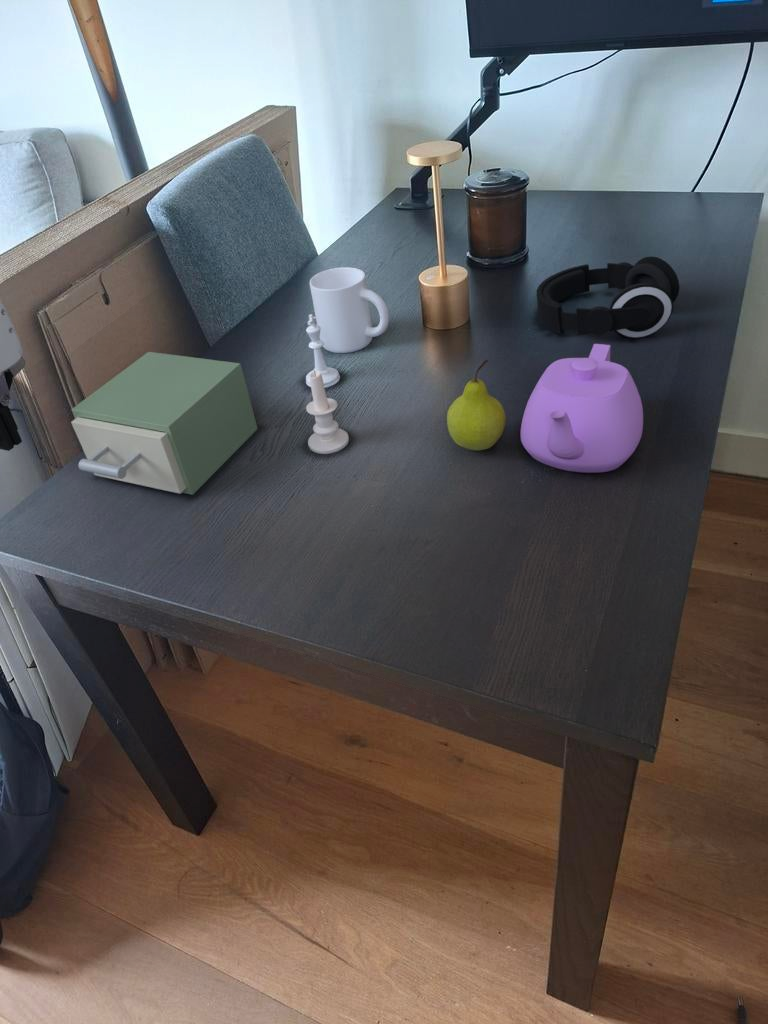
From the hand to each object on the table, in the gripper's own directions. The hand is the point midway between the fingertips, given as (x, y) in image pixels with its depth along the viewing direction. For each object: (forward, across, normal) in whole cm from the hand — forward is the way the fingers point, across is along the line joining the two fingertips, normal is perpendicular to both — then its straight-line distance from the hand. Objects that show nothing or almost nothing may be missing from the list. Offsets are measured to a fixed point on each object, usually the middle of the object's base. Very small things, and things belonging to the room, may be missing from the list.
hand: (5, 444), depth 75 cm
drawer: (+14, -18, 0) cm, 23 cm away
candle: (+14, -29, +19) cm, 37 cm away
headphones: (+13, -70, +44) cm, 84 cm away
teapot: (+14, -36, +49) cm, 62 cm away
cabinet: (+15, -22, 0) cm, 26 cm away
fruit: (+14, -33, +37) cm, 52 cm away
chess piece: (+14, -43, +10) cm, 46 cm away
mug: (+14, -54, +10) cm, 57 cm away
